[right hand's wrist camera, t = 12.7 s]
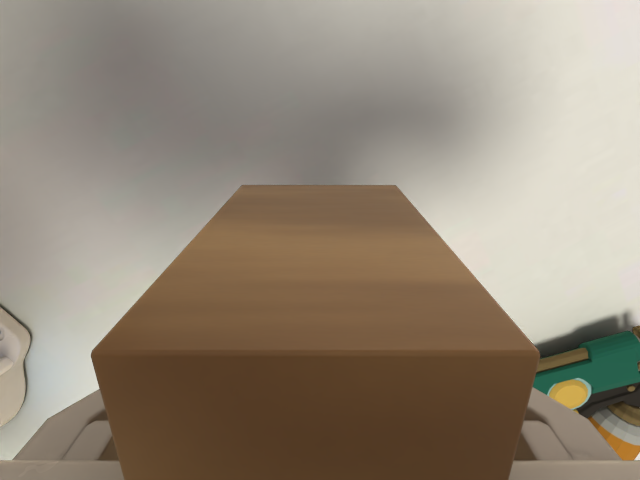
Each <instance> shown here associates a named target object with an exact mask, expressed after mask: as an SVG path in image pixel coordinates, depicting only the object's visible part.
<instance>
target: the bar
mask: <svg viewBox="0 0 640 480" xmlns="http://www.w3.org/2000/svg"><path fill="white" fill-rule="evenodd" d="M91 358H92V362H93V366H94V369H95V373H96V377H97V381H98V384H99V388H100V392H101V395H102V399H103V403H104V407H105V410H106V414H107V418H108V421H109V425H110V429H111V433H112V436H113V440H114V444H115V447H116V451H117V455H118V459H119V462H120V466H121V470H122V474H123V477H124V480H509V476H510V472H511V468H512V464H513V460H514V456H515V453H516V449H517V445H518V441H519V437H520V433H521V430H522V426H523V422H524V418H525V414H526V410H527V406H528V403H529V399H530V395H531V391H532V387H533V383H534V380H535V376H536V372H537V368H538V364H539V360H540V353H539V351H538V349H537V348H536V347H535V346H534V345H533V344H532V342H531V341H530V340H529V339H528V338H527V337H526V336H525V334H524V333H523V332H522V331H521V330H520V329H519V327H518V326H517V325H516V324H515V323H514V322H513V320H512V319H511V318H510V317H509V316H508V315H507V313H506V312H505V311H504V310H503V309H502V308H501V307H500V305H499V304H498V303H497V302H496V301H495V300H494V298H493V297H492V296H491V295H490V294H489V293H488V291H487V290H486V289H485V288H484V287H483V286H482V285H481V283H480V282H479V281H478V280H477V279H476V278H475V276H474V275H473V274H472V273H471V272H470V271H469V269H468V268H467V267H466V266H465V265H464V264H463V263H462V261H461V260H460V259H459V258H458V257H457V256H456V254H455V253H454V252H453V251H452V250H451V249H450V247H449V246H448V245H447V244H446V243H445V242H444V240H443V239H442V238H441V237H440V236H439V235H438V234H437V232H436V231H435V230H434V229H433V228H432V227H431V225H430V224H429V223H428V222H427V221H426V220H425V218H424V217H423V216H422V215H421V214H420V213H419V212H418V210H417V209H416V208H415V207H414V206H413V205H412V203H411V202H410V201H409V200H408V199H407V198H406V196H405V195H404V194H403V193H402V192H401V191H400V190H399V188H398V187H397V186H396V185H242V186H241V187H240V188H239V189H238V190H237V191H236V192H235V193H234V194H233V196H232V197H231V198H230V199H229V200H228V201H227V202H226V203H225V204H224V206H223V207H222V208H221V209H220V210H219V211H218V212H217V213H216V214H215V216H214V217H213V218H212V219H211V220H210V221H209V222H208V223H207V224H206V225H205V227H204V228H203V229H202V230H201V231H200V232H199V233H198V234H197V235H196V237H195V238H194V239H193V240H192V241H191V242H190V243H189V244H188V245H187V246H186V248H185V249H184V250H183V251H182V252H181V253H180V254H179V255H178V256H177V258H176V259H175V260H174V261H173V262H172V263H171V264H170V265H169V266H168V267H167V269H166V270H165V271H164V272H163V273H162V274H161V275H160V276H159V277H158V279H157V280H156V281H155V282H154V283H153V284H152V285H151V286H150V287H149V288H148V290H147V291H146V292H145V293H144V294H143V295H142V296H141V297H140V298H139V300H138V301H137V302H136V303H135V304H134V305H133V306H132V307H131V308H130V310H129V311H128V312H127V313H126V314H125V315H124V316H123V317H122V318H121V319H120V321H119V322H118V323H117V324H116V325H115V326H114V327H113V328H112V329H111V331H110V332H109V333H108V334H107V335H106V336H105V337H104V338H103V339H102V340H101V342H100V343H99V344H98V345H97V346H96V347H95V348H94V349H93V350H92V353H91Z"/></svg>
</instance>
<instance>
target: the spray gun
mask: <svg viewBox="0 0 640 480" xmlns="http://www.w3.org/2000/svg"><path fill="white" fill-rule="evenodd" d="M632 331H633V333H632V332H630V331H625V332H621V333H617V334H614V335H610V336H606V337H603V338H599V339H595V340H592V341H588V342H584V343H581V344H580V345H579V346H578V348H577V349H573V350H570V351H566V352H563V353H559V354H555V355H552V356H548V357H544V358H541V359H540V360H539V364H538V368H537V372H536V376H535V380H534V383H533V388H535V389H537V390H539V391H540V392H542V393H544V394H546V395H547V396H549V397H551V398H552V399H554V400H556V401H558V402H559V403H561V404H563V405H564V406H566V407H568V408H570V409H571V410H573V411H575V412H576V413H578V414H580V415H582V416H583V417H585V418H587V419H588V420H589V421H590V422H591V423H592V424H593V426H594V427H595V428H596V429H597V430H598V432H599V433H600V434H601V435H602V436H603V438H604V439H605V440H606V441H607V442H608V443H609V445H610V446H611V447H612V448H613V449H614V451H615V452H616V453H617V454H618V455H619V457H620V458H621V459H622V460H634V459H635V458H636V457H637V455H638V454H639V452H640V326H636V327H633V329H632Z"/></svg>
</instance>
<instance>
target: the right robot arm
mask: <svg viewBox="0 0 640 480" xmlns="http://www.w3.org/2000/svg"><path fill="white" fill-rule="evenodd" d="M29 346H30V334H29V332H28V331H27V330H26V328H25V327H23V326H22V325H21V324H20V323H19V322H18V321H16V320H15V319H14V318H13V317H12V316H10V315H9V314H8V313H7V312H6V311H5V310H3V309H2V308H1V307H0V427H1V426H3V425H5V424H6V423H8V422H9V421H10V420H11V419H12V418H13V417H14V416H15V415H16V414H17V413H18V411H19V410H20V408H21V406H22V404H23V401H24V397H25V391H26V384H25V376H24V370H23V361H24V358H25V356H26V354H27V351H28V349H29ZM0 480H124V477H123V474H122V470H121V466H120V462H119V459H118V455H117V451H116V447H115V444H114V440H113V436H112V433H111V429H110V425H109V421H108V418H107V414H106V410H105V407H104V403H103V399H102V395H101V392H100V389H99V390H97V391H95V392H93V393H92V394H90V395H88V396H87V397H85V398H83V399H81V400H80V401H78V402H76V403H74V404H73V405H71V406H69V407H67V408H66V409H64V410H62V411H60V412H59V413H57V414H55V415H53V416H52V417H50V418H48V419H47V420H46V421H45V422H44V424H43V425H42V426H41V427H40V428H39V429H38V431H37V432H36V433H35V434H34V435H33V436H32V438H31V439H30V440H29V441H28V442H27V443H26V445H25V446H24V447H23V448H22V449H21V450H20V452H19V453H18V454H17V455H16V456H15V457H14V459H13V460H0ZM509 480H640V460H622V459H621V458H620V457H619V455H618V454H617V453H616V452H615V451H614V449H613V448H612V447H611V446H610V445H609V443H608V442H607V441H606V440H605V439H604V438H603V436H602V435H601V434H600V433H599V432H598V430H597V429H596V428H595V427H594V426H593V424H592V423H591V422H590V421H589V420H588V419H587V418H585V417H583V416H582V415H580V414H578V413H576V412H575V411H573V410H571V409H570V408H568V407H566V406H564V405H563V404H561V403H559V402H558V401H556V400H554V399H552V398H551V397H549V396H547V395H546V394H544V393H542V392H540V391H539V390H537V389H535V388H533V387H532V391H531V395H530V399H529V403H528V406H527V410H526V414H525V418H524V422H523V426H522V430H521V433H520V437H519V441H518V445H517V449H516V453H515V456H514V460H513V464H512V468H511V472H510V476H509Z"/></svg>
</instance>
